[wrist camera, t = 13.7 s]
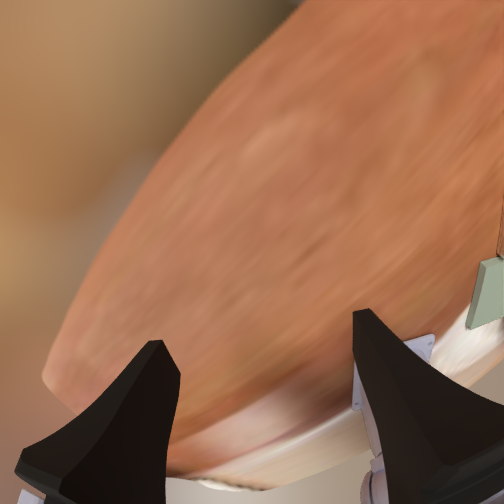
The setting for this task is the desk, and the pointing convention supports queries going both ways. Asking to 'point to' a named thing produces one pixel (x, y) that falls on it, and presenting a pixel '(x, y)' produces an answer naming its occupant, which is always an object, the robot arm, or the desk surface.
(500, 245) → the beige flat handled piece
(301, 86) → the desk surface
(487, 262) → the pad
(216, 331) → the desk surface
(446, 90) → the desk surface
